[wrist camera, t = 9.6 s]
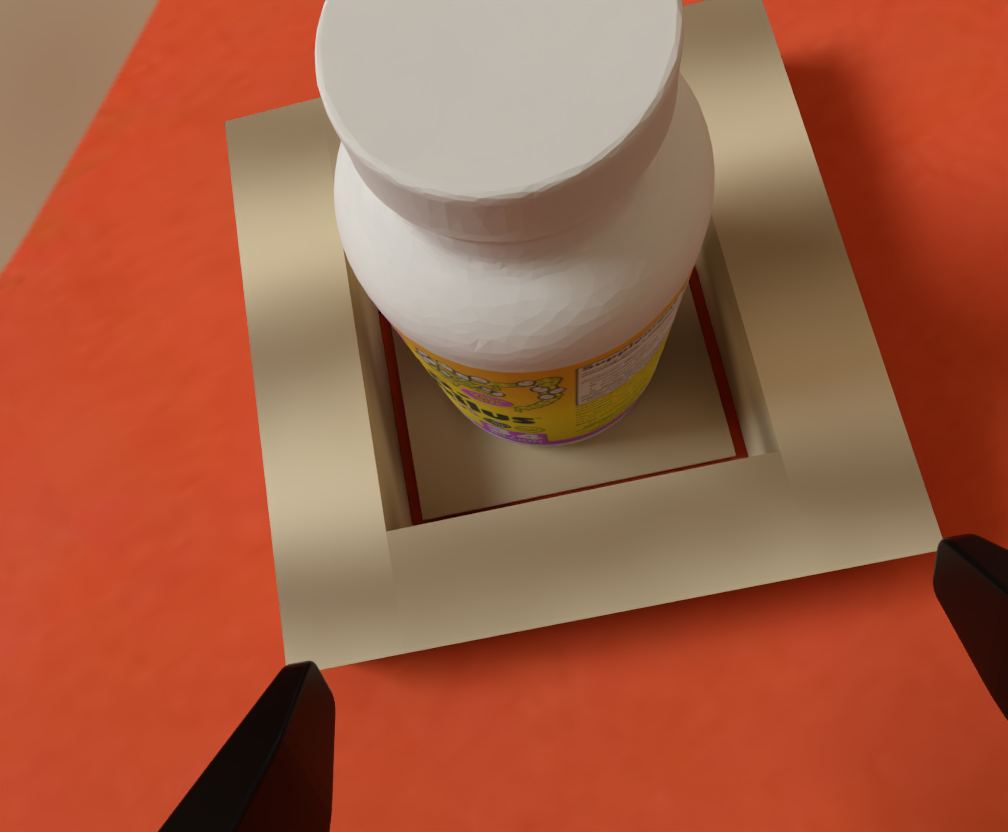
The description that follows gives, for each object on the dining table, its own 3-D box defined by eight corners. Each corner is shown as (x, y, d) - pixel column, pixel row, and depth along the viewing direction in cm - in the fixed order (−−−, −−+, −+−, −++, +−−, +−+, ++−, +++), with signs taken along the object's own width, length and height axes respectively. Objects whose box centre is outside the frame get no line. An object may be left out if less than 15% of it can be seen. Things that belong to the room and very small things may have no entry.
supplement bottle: (395, 336, 22) (138, 24, 9) (557, 202, 22) (520, -275, 10) (535, 500, 20) (453, 390, 8) (706, 353, 20) (895, 19, 8)
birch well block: (890, 551, 19) (946, 548, 16) (330, 660, 20) (287, 676, 17) (735, 61, 23) (757, -13, 20) (269, 176, 24) (224, 121, 21)
